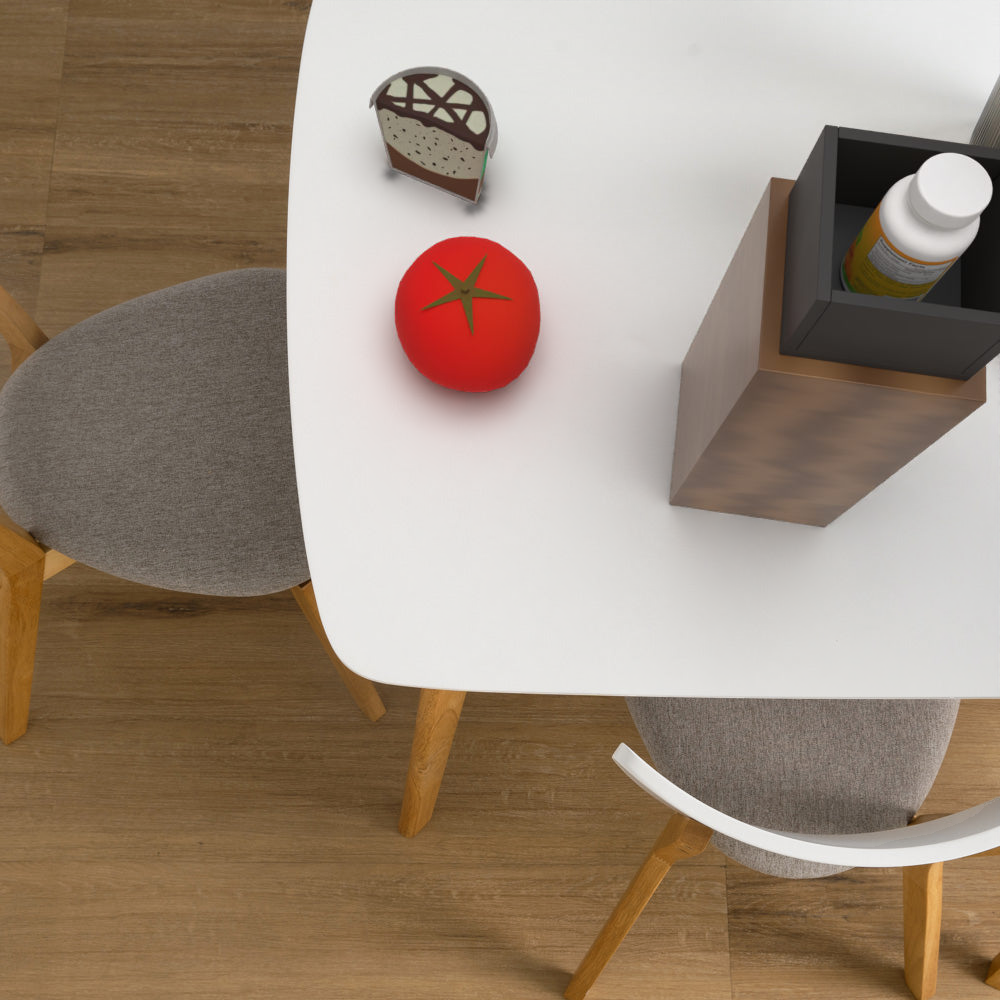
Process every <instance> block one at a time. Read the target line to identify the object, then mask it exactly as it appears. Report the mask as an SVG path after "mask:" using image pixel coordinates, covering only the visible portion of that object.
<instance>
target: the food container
mask: <svg viewBox="0 0 1000 1000" xmlns="http://www.w3.org/2000/svg"><path fill="white" fill-rule="evenodd" d="M368 104H369V105H368V109H372V108H374V110H375V114H376V119H377V122H378V126H379V130H380V133H381V138H382V141H383V145H384V146H383V147H384V150H385V153H386V157H387V161H388V164H389V169H390V170H391V171H394V172H396V173H399V174H401V175H404V176H406V177H408V178H411V179H413V180H416V181H418V182H420V183H423V184H425V185H428V186H430V187H433V188H435V189H438V190H440V191H442V192H445V193H447V194H449V195H451V196H454V197H456V198H459V199H461V200H463V201H465V202H469V203H471V204H473V205H478V202H479V200H480V197H481V194H482V188H483V185H484V177H485V172H486V167H487V161H488V155H489V158H490V159H493V157H494V155H495V152H496V149H497V146H498V139H499V129H498V122H497V119H496V115H495V112H494V109H493V106H492V104H491V102H490V100H489V98H488V96H487V95H486V94H485V92H484V91H483V89H482V88H481V87H480V86H479V85H478V84H477V83H476V82H474V81H473V80H472V79H471V78H469V77H468V76H467V75H465V74H462V73H461V72H459V71H456V70H453V69H451V68H448V67H447V68H446V67H441V66H435V65H434V66H433V65H423V66H422V65H421V66H415V67H409V68H406V69H403V70H400V71H398V72H396V73H394V74H392V75H391V76H389V77H388V78H386V79H385V80H383V81H382V82H381V83H380V84H379V85H378V86H377V87H376V88H375V90H373V92H372V94H371V97H370V98H369V103H368ZM373 106H374V107H373Z"/></svg>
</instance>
